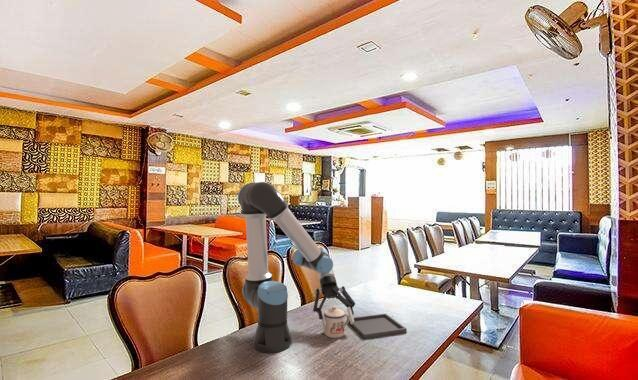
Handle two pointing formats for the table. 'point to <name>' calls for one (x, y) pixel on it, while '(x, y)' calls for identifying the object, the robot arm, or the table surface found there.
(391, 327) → the tea tray
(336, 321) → the teacup with lid
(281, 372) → the table surface
